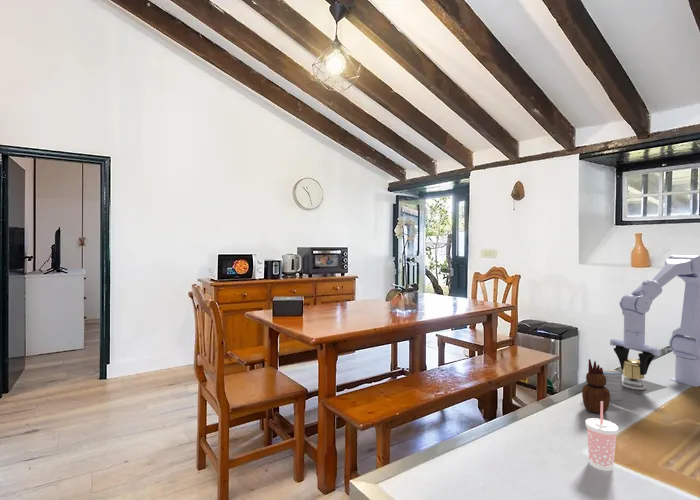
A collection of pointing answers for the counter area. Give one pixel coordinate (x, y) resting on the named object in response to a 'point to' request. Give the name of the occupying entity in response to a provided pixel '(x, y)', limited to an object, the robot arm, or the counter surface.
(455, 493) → the counter surface
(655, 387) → the mat
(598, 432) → the beverage cup
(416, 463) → the counter surface
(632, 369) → the cap
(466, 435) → the counter surface
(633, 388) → the stud post
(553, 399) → the counter surface
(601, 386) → the wooden figurine
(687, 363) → the robot arm
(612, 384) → the medicine box
